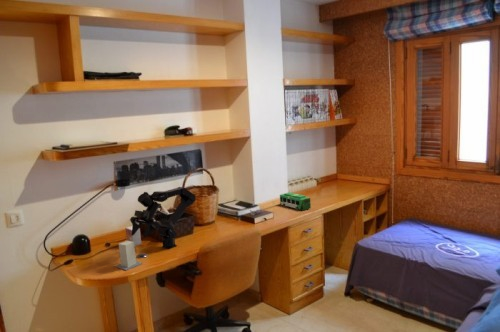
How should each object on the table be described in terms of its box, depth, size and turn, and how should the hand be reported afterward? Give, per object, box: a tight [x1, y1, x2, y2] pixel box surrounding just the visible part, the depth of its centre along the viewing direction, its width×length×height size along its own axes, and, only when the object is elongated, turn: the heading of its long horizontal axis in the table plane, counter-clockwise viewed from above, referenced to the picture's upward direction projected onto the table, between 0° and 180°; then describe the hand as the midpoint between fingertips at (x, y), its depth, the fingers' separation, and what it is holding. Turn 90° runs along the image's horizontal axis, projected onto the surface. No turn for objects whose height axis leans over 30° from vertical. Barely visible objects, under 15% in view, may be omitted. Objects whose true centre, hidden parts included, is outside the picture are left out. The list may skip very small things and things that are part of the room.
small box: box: [125, 225, 142, 247], centre depth 248 cm, size 8×6×10 cm
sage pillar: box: [118, 240, 137, 267], centre depth 214 cm, size 6×6×12 cm
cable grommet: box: [136, 253, 148, 259], centre depth 227 cm, size 6×6×1 cm
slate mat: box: [114, 260, 143, 271], centre depth 215 cm, size 10×10×1 cm
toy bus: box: [279, 192, 312, 211], centre depth 308 cm, size 11×27×10 cm, turn 29°
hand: (137, 236), depth 219 cm, fingers open, 9 cm apart
